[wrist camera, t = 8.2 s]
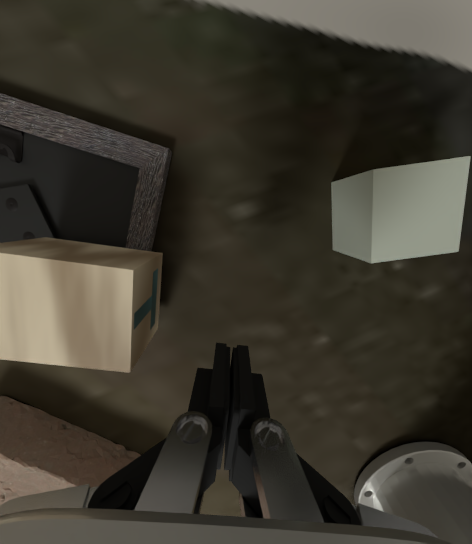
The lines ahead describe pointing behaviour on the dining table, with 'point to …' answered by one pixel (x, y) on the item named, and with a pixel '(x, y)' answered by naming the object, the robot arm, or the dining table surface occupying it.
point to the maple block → (77, 303)
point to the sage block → (400, 210)
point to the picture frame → (76, 179)
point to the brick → (51, 453)
